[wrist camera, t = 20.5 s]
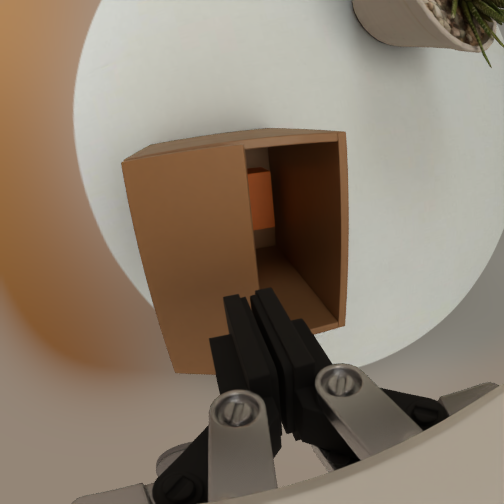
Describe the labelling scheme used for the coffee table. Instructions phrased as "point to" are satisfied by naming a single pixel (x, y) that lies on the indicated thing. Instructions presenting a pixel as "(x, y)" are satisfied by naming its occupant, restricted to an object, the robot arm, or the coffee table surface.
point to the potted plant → (433, 22)
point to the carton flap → (193, 244)
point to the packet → (261, 198)
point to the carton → (296, 216)
